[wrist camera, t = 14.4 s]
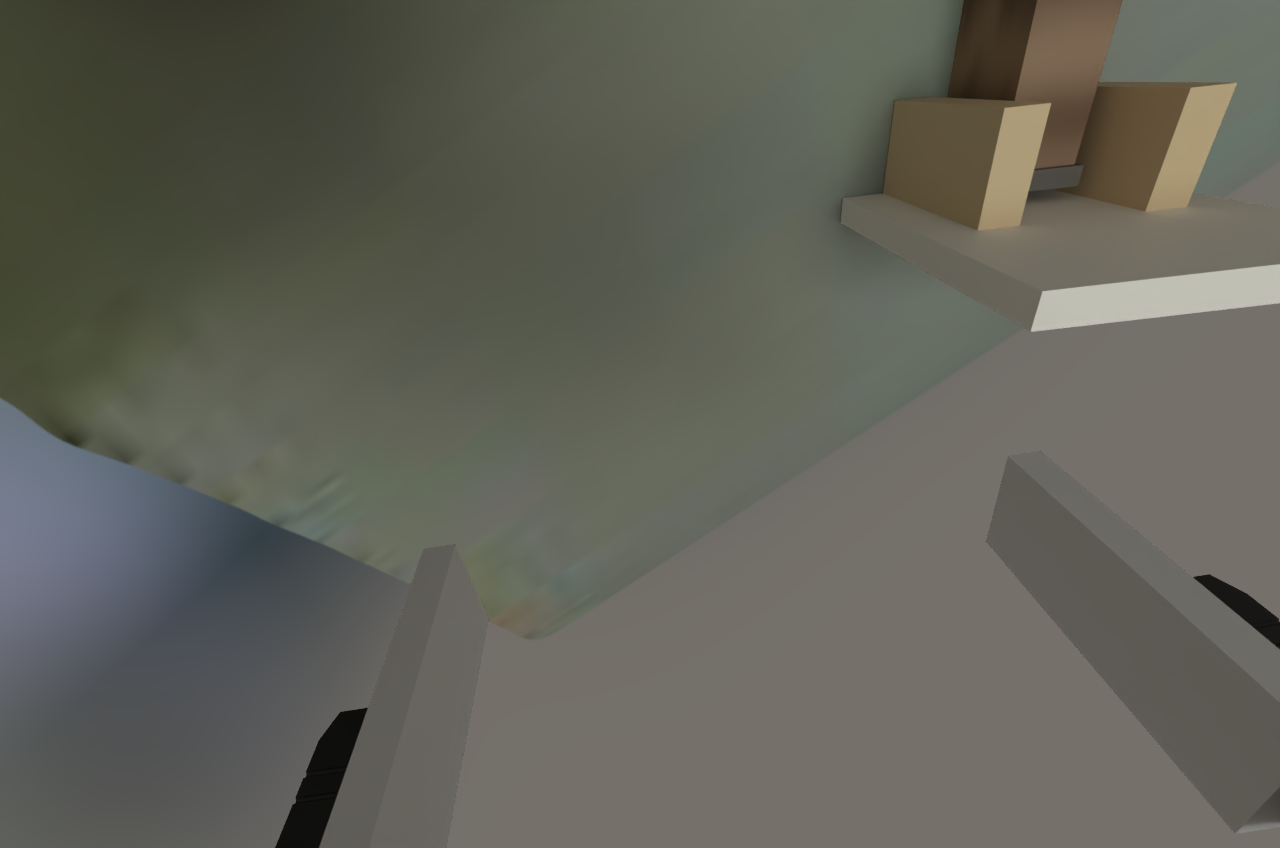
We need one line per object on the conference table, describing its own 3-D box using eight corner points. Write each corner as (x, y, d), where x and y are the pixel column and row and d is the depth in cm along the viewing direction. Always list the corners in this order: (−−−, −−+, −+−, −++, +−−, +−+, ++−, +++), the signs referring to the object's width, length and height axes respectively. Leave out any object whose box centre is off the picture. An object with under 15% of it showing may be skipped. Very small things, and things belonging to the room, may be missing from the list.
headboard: (851, 105, 32) (1090, 128, 17) (1109, 77, 32) (1577, 75, 17) (840, 223, 35) (1030, 332, 20) (1073, 196, 36) (1435, 284, 20)
